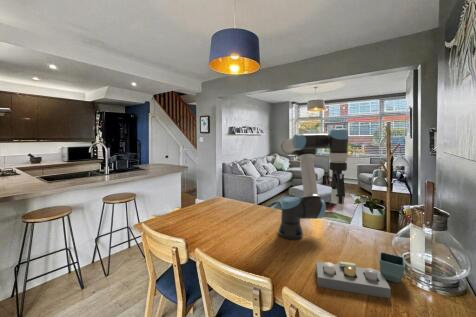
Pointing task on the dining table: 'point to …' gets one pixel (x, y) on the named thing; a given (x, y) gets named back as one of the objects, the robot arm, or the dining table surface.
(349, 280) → the console
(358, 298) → the dining table surface
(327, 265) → the white rounded piece
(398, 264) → the flower pot
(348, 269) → the brass button
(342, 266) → the block
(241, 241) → the dining table surface
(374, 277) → the white rounded dome
